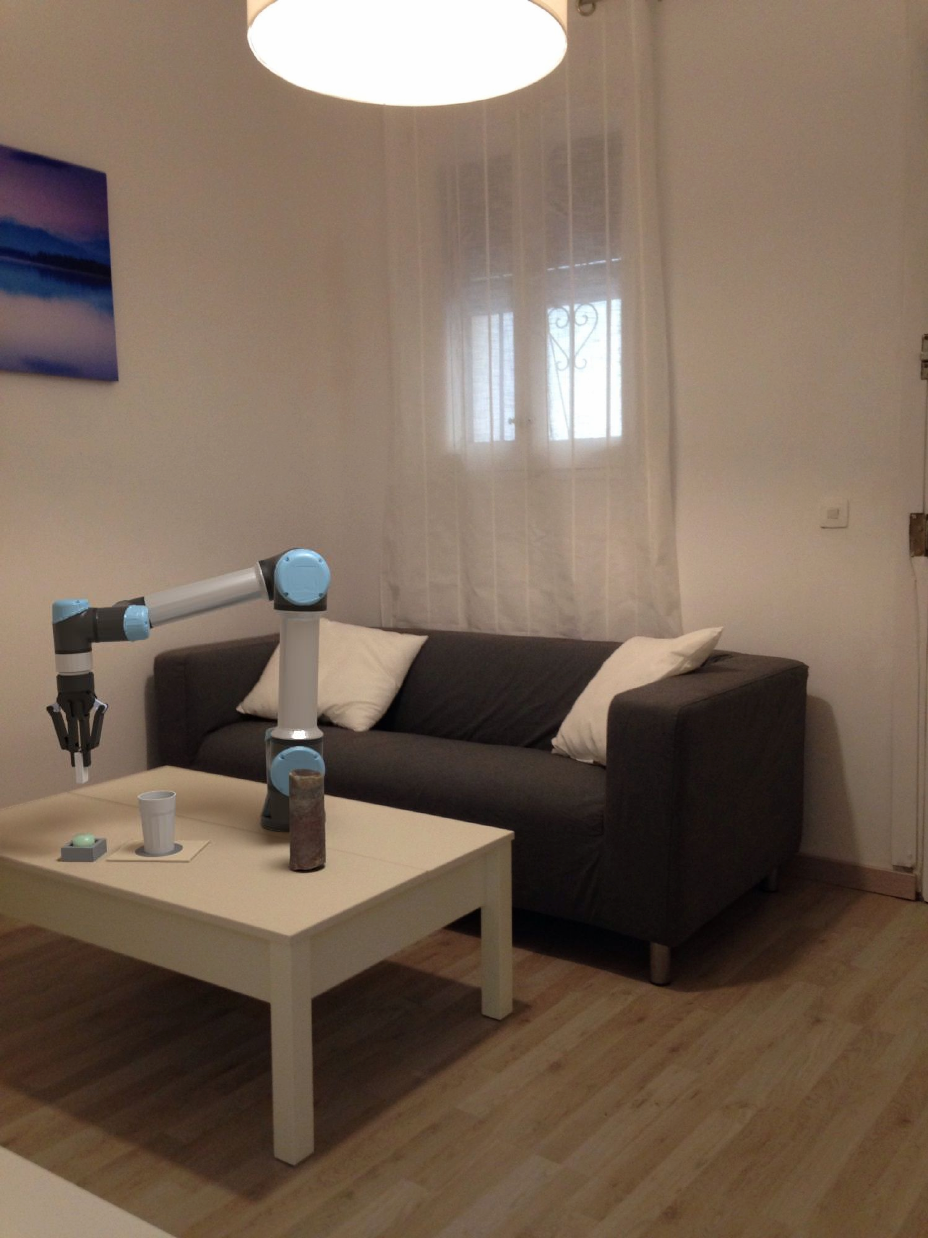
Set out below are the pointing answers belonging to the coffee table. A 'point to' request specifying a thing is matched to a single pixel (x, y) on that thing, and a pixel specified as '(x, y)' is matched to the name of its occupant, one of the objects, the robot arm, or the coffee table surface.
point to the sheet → (135, 853)
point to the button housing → (83, 851)
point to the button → (83, 840)
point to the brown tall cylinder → (307, 819)
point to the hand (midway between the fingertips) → (82, 781)
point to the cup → (158, 820)
